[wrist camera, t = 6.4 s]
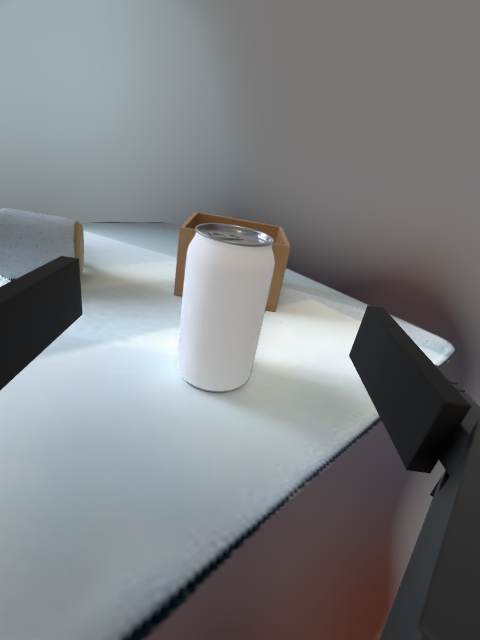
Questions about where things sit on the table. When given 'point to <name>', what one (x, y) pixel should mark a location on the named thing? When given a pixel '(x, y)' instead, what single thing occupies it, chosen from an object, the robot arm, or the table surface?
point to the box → (276, 232)
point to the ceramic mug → (36, 241)
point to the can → (223, 305)
